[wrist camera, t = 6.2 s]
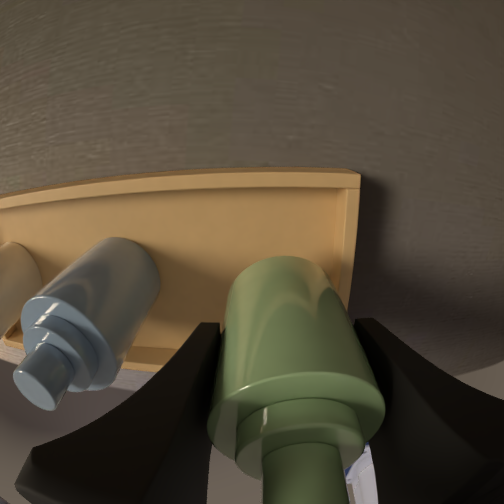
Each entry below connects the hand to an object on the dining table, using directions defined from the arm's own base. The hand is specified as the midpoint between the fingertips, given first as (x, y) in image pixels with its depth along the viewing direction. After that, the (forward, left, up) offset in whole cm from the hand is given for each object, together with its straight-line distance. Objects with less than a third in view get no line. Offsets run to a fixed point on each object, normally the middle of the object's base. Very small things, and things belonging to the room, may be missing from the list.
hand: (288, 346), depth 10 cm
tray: (0, +8, -6) cm, 10 cm away
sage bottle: (0, 0, -2) cm, 2 cm away
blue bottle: (0, +8, -5) cm, 9 cm away
